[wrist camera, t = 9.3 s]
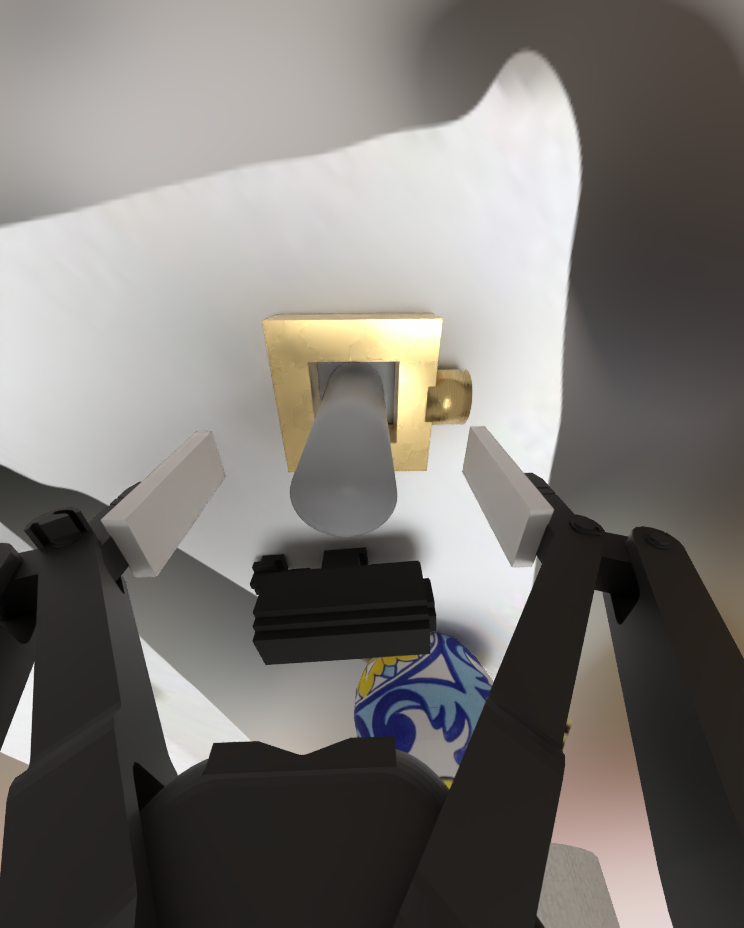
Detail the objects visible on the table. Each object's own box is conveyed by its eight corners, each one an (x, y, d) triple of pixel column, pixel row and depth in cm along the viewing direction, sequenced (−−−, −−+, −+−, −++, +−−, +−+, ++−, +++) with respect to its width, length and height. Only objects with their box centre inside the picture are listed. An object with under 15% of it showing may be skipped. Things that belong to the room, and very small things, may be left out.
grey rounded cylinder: (330, 416, 26) (297, 536, 14) (325, 362, 23) (282, 451, 12) (382, 415, 26) (395, 535, 14) (383, 361, 23) (399, 449, 12)
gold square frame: (297, 450, 27) (287, 475, 24) (276, 314, 22) (259, 321, 18) (448, 449, 28) (459, 473, 24) (467, 312, 22) (485, 319, 18)
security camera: (250, 541, 33) (209, 633, 25) (421, 527, 32) (440, 616, 24) (268, 583, 37) (237, 675, 28) (422, 570, 36) (439, 662, 27)
